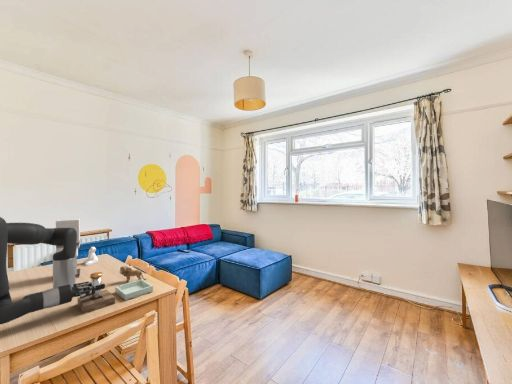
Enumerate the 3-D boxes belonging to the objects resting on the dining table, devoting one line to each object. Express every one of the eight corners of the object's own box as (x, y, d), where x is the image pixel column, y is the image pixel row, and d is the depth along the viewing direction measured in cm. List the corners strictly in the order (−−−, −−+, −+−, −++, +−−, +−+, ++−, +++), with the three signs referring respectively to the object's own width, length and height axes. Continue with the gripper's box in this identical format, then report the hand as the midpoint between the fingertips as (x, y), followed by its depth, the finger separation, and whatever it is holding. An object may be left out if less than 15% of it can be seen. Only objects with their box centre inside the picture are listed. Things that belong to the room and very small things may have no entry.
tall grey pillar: (79, 277, 143) (78, 219, 142) (56, 281, 137) (55, 221, 136) (80, 271, 152) (79, 217, 151) (58, 275, 146) (58, 218, 145)
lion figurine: (117, 283, 134) (117, 267, 134) (122, 279, 140) (122, 264, 139) (144, 282, 136) (144, 267, 136) (148, 278, 141) (147, 264, 141)
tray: (115, 292, 123) (115, 286, 123) (142, 284, 133) (142, 279, 133) (125, 300, 114) (125, 294, 114) (153, 291, 124) (153, 285, 124)
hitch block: (77, 304, 110) (77, 297, 110) (106, 295, 119) (106, 289, 119) (84, 313, 102) (84, 306, 102) (115, 303, 111) (115, 297, 111)
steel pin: (89, 304, 110) (89, 274, 110) (100, 300, 114) (100, 271, 114) (92, 307, 107) (91, 276, 107) (103, 303, 111) (103, 273, 111)
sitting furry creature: (81, 263, 169) (81, 246, 168) (95, 260, 175) (95, 244, 175) (85, 266, 163) (85, 248, 162) (100, 263, 169) (100, 246, 169)
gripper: (60, 292, 95) (107, 280, 108) (53, 283, 104) (98, 272, 117) (60, 311, 95) (108, 296, 108) (53, 299, 105) (98, 287, 117)
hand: (102, 284), depth 112 cm, fingers open, 5 cm apart
